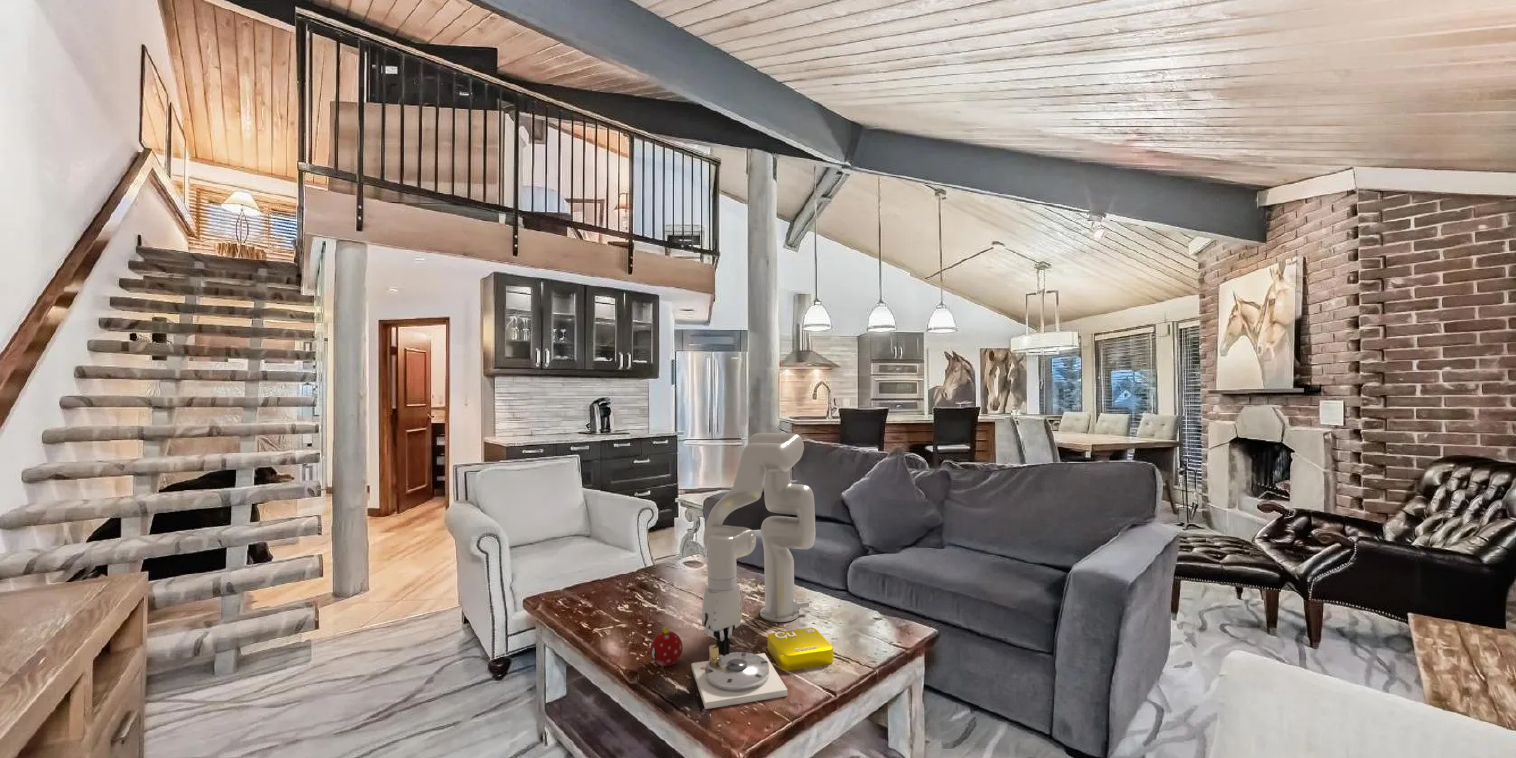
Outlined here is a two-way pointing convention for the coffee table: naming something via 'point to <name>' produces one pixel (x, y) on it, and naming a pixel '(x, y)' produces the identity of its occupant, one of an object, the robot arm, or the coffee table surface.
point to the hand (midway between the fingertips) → (723, 653)
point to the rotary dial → (735, 670)
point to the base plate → (724, 698)
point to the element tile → (800, 649)
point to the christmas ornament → (666, 648)
